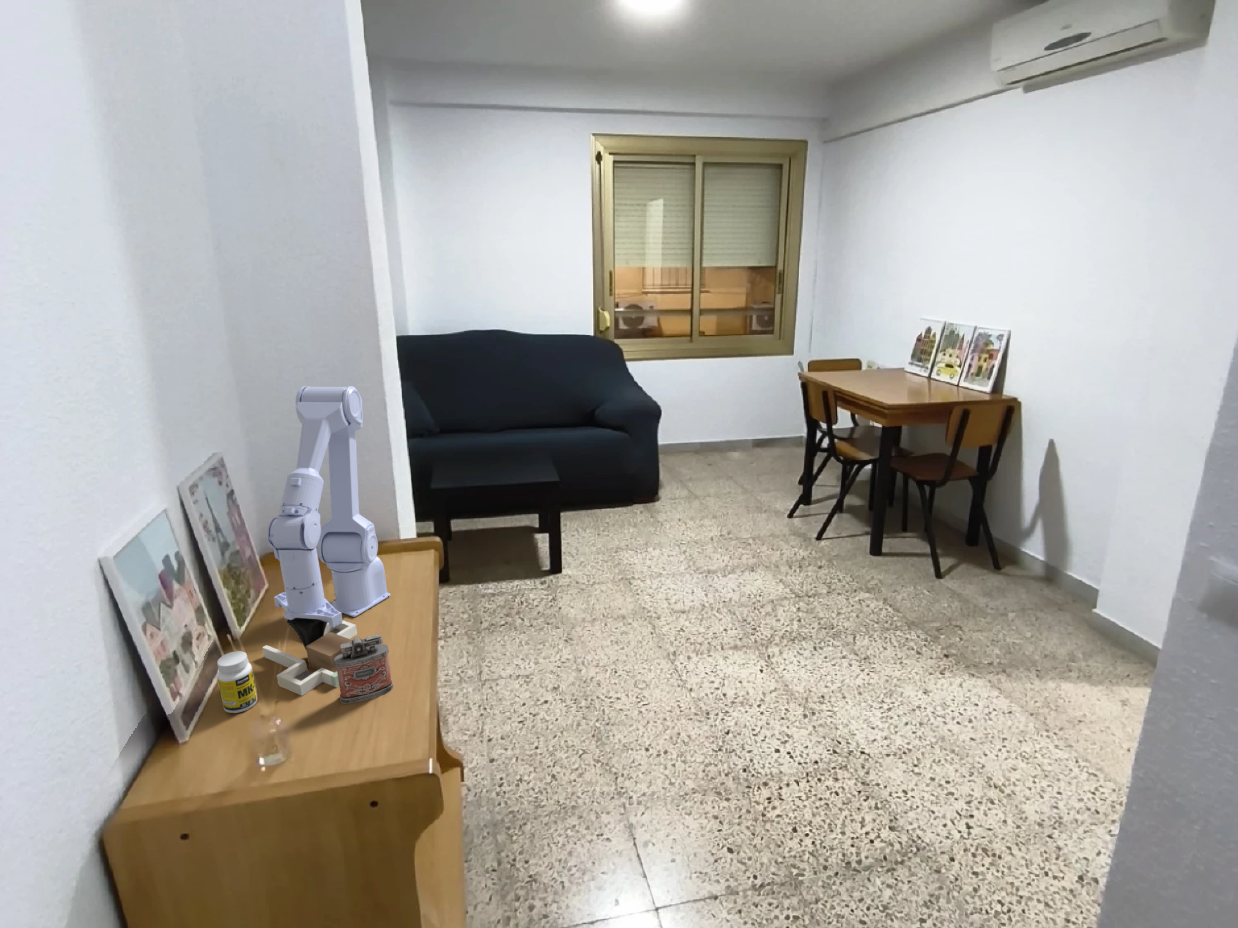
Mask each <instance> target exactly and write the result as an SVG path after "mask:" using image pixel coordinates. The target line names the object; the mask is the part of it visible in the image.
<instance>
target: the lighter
mask: <svg viewBox="0 0 1238 928" xmlns="http://www.w3.org/2000/svg"><path fill="white" fill-rule="evenodd" d="M351 640H352V642H349V643H345V644H342V645H341V652H342V654H340V655H338V656H336V657H335V659H334V663H335V666H336V668H337V674H338V680H339V686H338V687H339V692H340V693H339V699H340V703H342V704H344V705H345V704H348V705H349V704H354V703H359V702H362V701H367V700H371V699H374V698H377V697H380V696H383V695H385V694H387V693H389V692H391V691H392V690H393V689H394V683H393V680H392V675H391V669H390V662H389V661H390V659H389V647H388V644H385V643H384V642H383V636H382V635H381V634H380V633H379V634H375V635H370V636H366V637H364V638H360V637H355V638H354V637H353V639H351Z"/></svg>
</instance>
